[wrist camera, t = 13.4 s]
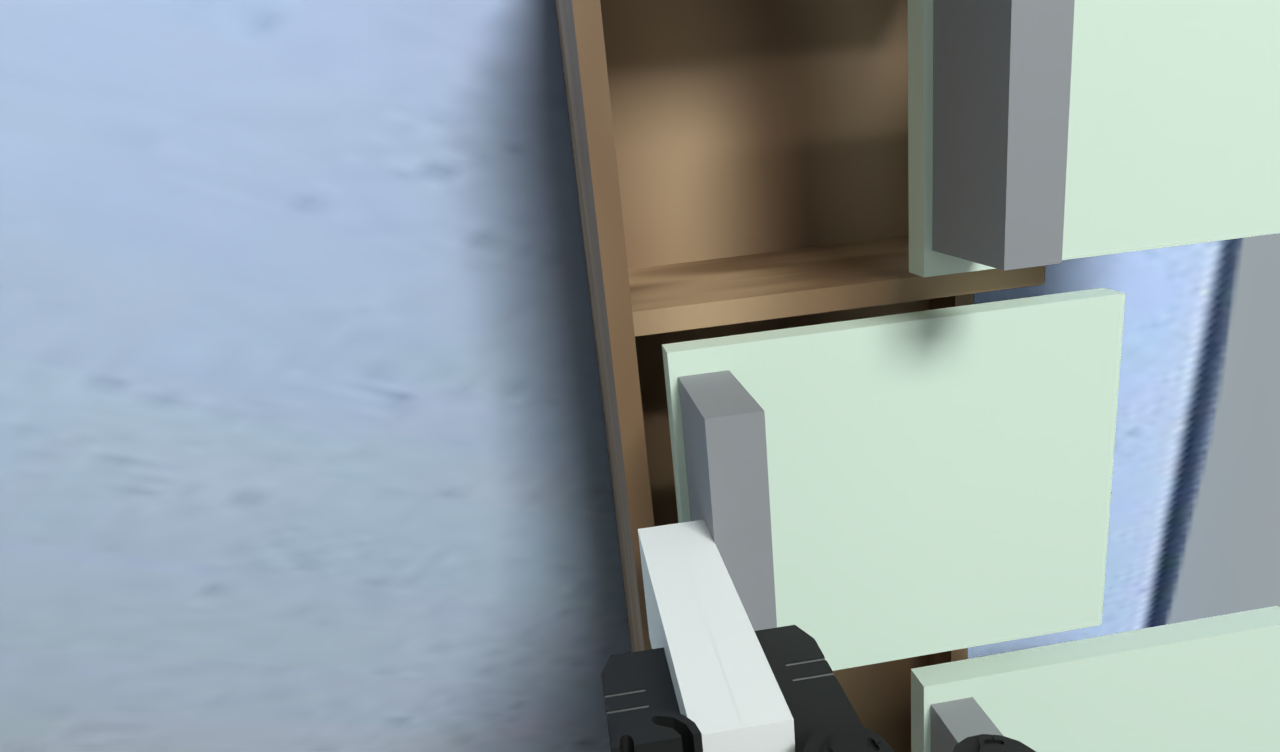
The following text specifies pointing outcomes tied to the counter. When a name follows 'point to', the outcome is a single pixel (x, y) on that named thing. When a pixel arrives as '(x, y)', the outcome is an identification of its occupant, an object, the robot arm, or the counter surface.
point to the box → (740, 219)
